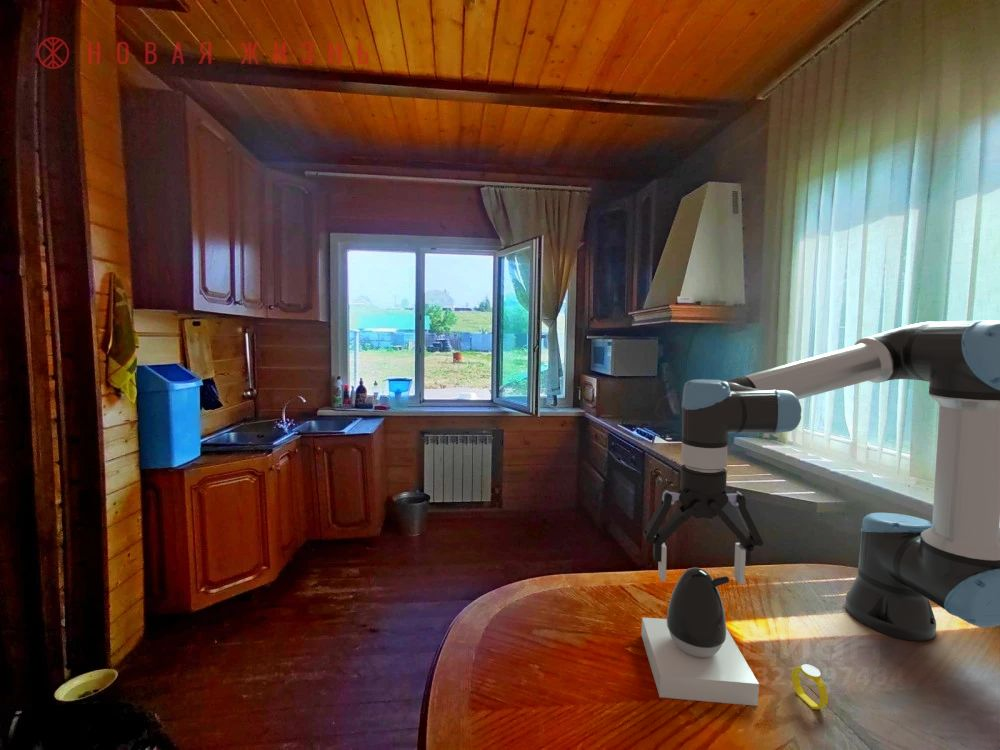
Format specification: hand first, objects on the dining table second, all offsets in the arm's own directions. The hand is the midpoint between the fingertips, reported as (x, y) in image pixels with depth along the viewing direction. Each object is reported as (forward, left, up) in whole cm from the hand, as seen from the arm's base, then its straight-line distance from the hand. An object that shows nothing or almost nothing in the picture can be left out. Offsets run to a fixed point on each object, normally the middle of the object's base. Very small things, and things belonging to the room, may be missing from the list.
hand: (700, 579), depth 84 cm
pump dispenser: (0, 0, -14) cm, 14 cm away
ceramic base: (0, 0, -17) cm, 17 cm away
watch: (-17, +6, -18) cm, 25 cm away
